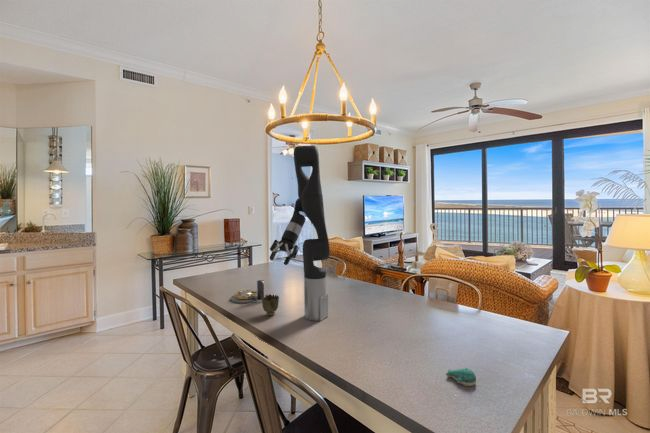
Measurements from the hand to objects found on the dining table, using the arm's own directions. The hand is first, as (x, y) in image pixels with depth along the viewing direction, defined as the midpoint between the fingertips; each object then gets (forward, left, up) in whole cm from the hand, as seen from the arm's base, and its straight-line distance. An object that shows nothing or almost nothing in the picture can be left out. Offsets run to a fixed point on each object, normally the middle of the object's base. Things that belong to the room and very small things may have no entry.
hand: (278, 262), depth 149 cm
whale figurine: (-85, +25, -20) cm, 91 cm away
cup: (-8, +14, -20) cm, 26 cm away
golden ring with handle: (+15, +3, -18) cm, 24 cm away
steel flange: (+18, +3, -20) cm, 27 cm away
